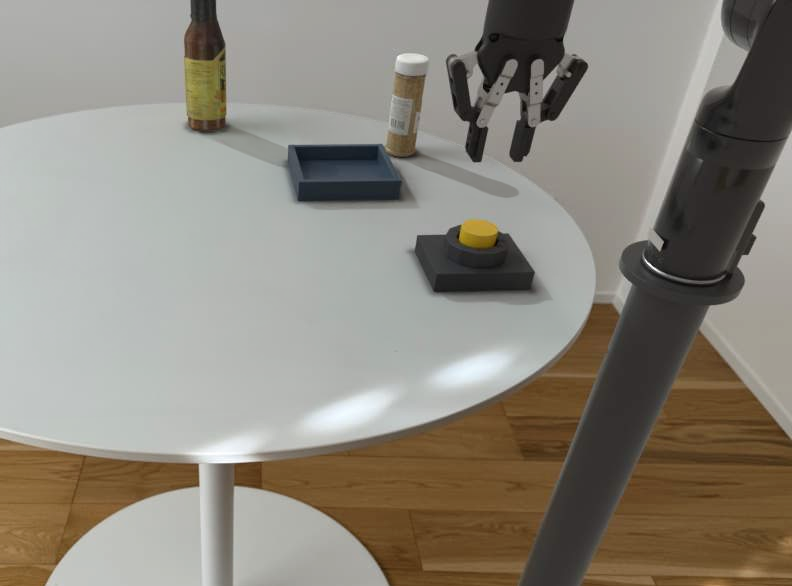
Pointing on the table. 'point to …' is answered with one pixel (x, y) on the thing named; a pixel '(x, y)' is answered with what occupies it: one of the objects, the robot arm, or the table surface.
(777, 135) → the robot arm
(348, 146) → the tray
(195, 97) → the sauce bottle
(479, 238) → the trigger button
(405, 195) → the table surface
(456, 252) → the button housing
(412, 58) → the spice jar
